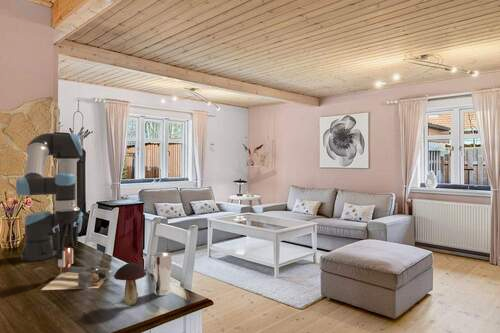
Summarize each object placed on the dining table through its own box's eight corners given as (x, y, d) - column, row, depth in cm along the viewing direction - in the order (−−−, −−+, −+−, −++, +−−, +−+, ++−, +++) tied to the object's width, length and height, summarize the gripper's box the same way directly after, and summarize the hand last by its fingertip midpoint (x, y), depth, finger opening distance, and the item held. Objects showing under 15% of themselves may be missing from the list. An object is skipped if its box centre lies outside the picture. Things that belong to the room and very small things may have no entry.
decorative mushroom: (152, 301, 126) (152, 260, 125) (133, 313, 115) (133, 269, 115) (127, 297, 129) (127, 257, 129) (106, 309, 119) (106, 265, 118)
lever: (65, 272, 149) (65, 246, 149) (111, 275, 145) (110, 248, 145) (57, 276, 144) (57, 249, 144) (103, 279, 140) (103, 252, 140)
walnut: (89, 281, 141) (89, 272, 140) (100, 281, 141) (99, 271, 141) (86, 285, 137) (86, 275, 137) (96, 284, 137) (96, 274, 137)
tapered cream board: (63, 275, 152) (62, 260, 152) (112, 273, 155) (112, 259, 155) (40, 294, 131) (40, 277, 131) (98, 291, 134) (98, 275, 134)
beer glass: (155, 289, 137) (155, 252, 136) (173, 289, 137) (173, 251, 137) (151, 296, 130) (151, 257, 129) (170, 296, 130) (170, 256, 130)
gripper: (57, 213, 136) (58, 272, 137) (86, 207, 153) (87, 259, 154) (41, 212, 138) (42, 270, 139) (72, 206, 155) (72, 258, 155)
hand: (65, 264), depth 146 cm, fingers closed on lever, 4 cm apart
